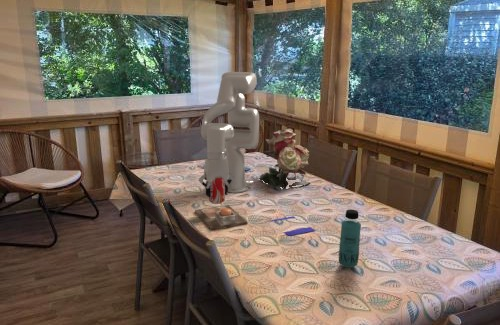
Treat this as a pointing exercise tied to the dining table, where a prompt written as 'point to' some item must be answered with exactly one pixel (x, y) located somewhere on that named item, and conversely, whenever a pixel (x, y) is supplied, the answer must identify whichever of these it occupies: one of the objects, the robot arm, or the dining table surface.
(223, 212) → the button
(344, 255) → the beverage bottle
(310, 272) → the dining table surface
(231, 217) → the picture board
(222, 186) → the soda can
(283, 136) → the rose bouquet
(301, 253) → the dining table surface
